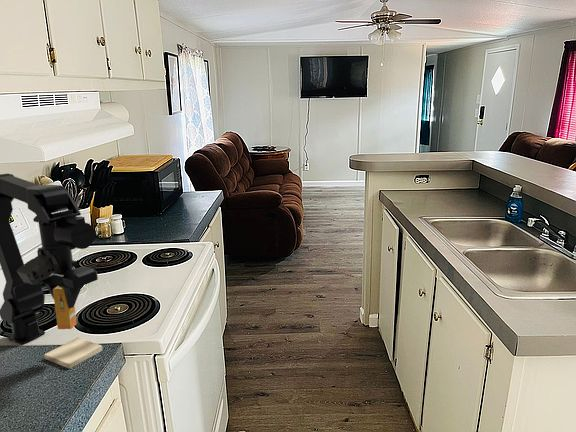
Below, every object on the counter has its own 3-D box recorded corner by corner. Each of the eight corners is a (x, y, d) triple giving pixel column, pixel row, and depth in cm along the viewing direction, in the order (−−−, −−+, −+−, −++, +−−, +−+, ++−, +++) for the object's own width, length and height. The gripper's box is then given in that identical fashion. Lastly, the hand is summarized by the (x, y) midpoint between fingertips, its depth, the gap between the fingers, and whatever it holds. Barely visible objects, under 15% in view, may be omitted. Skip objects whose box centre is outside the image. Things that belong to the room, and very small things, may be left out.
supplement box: (78, 322, 107) (73, 284, 104) (71, 329, 103) (65, 290, 101) (64, 322, 107) (59, 284, 104) (56, 329, 103) (51, 289, 101)
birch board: (45, 358, 105) (44, 354, 105) (78, 341, 113) (77, 337, 113) (69, 368, 101) (69, 364, 101) (102, 350, 109) (102, 345, 109)
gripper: (-5, 246, 98) (6, 311, 101) (47, 259, 89) (58, 329, 93) (43, 233, 107) (52, 293, 111) (95, 244, 98) (103, 308, 102)
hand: (65, 305), depth 104 cm, fingers closed on supplement box, 4 cm apart
